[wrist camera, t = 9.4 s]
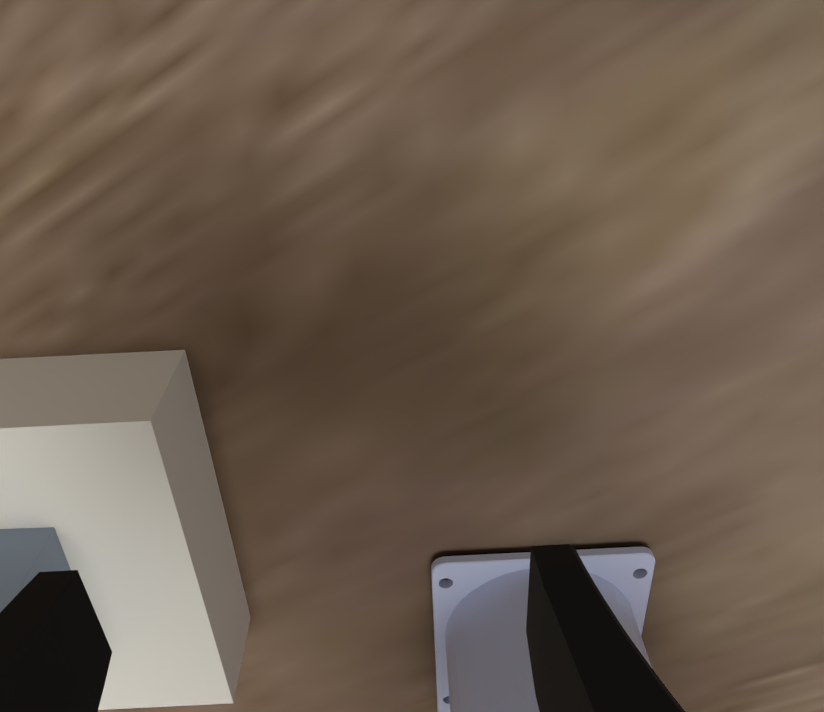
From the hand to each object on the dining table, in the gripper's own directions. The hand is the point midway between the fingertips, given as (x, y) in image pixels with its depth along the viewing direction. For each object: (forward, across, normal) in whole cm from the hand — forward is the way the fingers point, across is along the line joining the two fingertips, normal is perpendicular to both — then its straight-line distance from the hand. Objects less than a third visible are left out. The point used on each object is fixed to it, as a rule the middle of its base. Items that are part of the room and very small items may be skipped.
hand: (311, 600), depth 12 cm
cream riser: (+11, +11, +7) cm, 17 cm away
